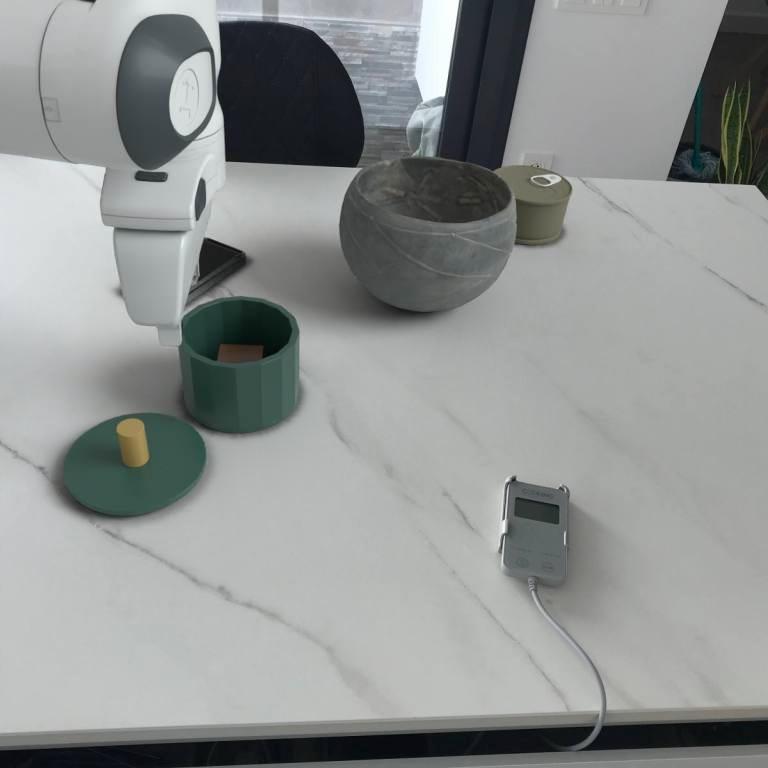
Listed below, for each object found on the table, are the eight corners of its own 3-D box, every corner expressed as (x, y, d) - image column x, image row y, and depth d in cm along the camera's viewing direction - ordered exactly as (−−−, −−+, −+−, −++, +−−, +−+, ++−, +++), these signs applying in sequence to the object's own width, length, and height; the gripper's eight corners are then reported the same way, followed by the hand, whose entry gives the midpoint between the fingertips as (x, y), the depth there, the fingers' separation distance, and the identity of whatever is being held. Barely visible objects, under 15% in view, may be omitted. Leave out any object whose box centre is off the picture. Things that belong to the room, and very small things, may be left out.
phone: (249, 253, 101) (171, 305, 91) (249, 261, 102) (172, 313, 92) (202, 235, 104) (120, 284, 94) (202, 242, 105) (122, 291, 94)
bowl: (528, 289, 102) (552, 183, 93) (446, 365, 88) (465, 250, 79) (396, 236, 111) (406, 134, 101) (303, 298, 97) (304, 187, 87)
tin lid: (183, 529, 68) (177, 489, 64) (40, 509, 68) (27, 468, 65) (222, 430, 78) (219, 390, 74) (98, 413, 78) (89, 373, 75)
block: (217, 405, 80) (214, 371, 77) (222, 377, 83) (220, 343, 80) (261, 406, 80) (260, 372, 77) (264, 378, 83) (264, 345, 81)
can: (465, 216, 117) (472, 173, 112) (525, 200, 122) (534, 159, 118) (517, 253, 109) (527, 208, 105) (578, 234, 115) (590, 192, 111)
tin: (285, 440, 77) (285, 374, 72) (169, 424, 78) (160, 358, 72) (307, 367, 86) (308, 304, 81) (203, 354, 87) (197, 290, 81)
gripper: (150, 108, 67) (164, 250, 76) (92, 216, 51) (119, 379, 60) (223, 113, 68) (229, 253, 76) (189, 221, 52) (202, 382, 60)
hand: (180, 310), depth 68 cm, fingers open, 8 cm apart
